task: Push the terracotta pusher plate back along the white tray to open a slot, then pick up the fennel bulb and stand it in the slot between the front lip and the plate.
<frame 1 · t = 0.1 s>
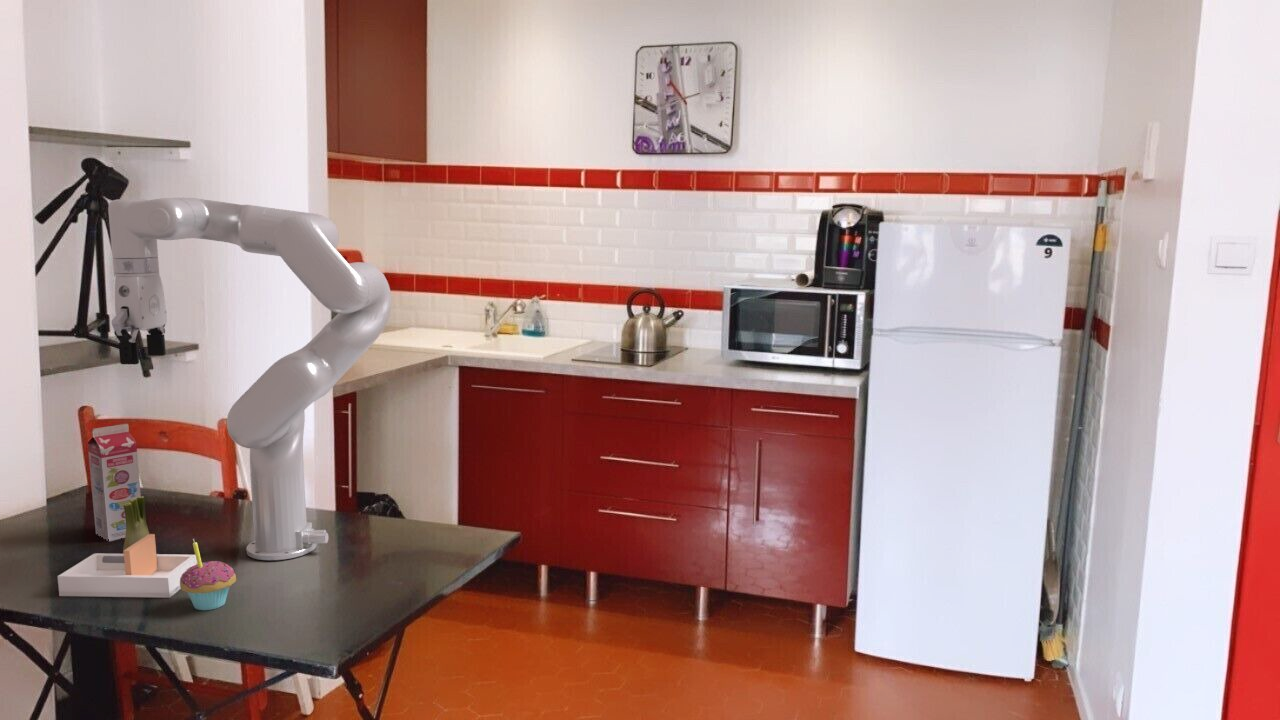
hand: (143, 359, 189), 37 cm above the table, tool pointing down, fingers open, 9 cm apart
pusher: (124, 560, 176), point 4 cm above the table, slide at 0.0 cm
juice carton: (120, 534, 203), on the table
fennel bulb: (139, 562, 188), on the table
white tray: (131, 584, 177), on the table
cupcake: (209, 605, 169), on the table
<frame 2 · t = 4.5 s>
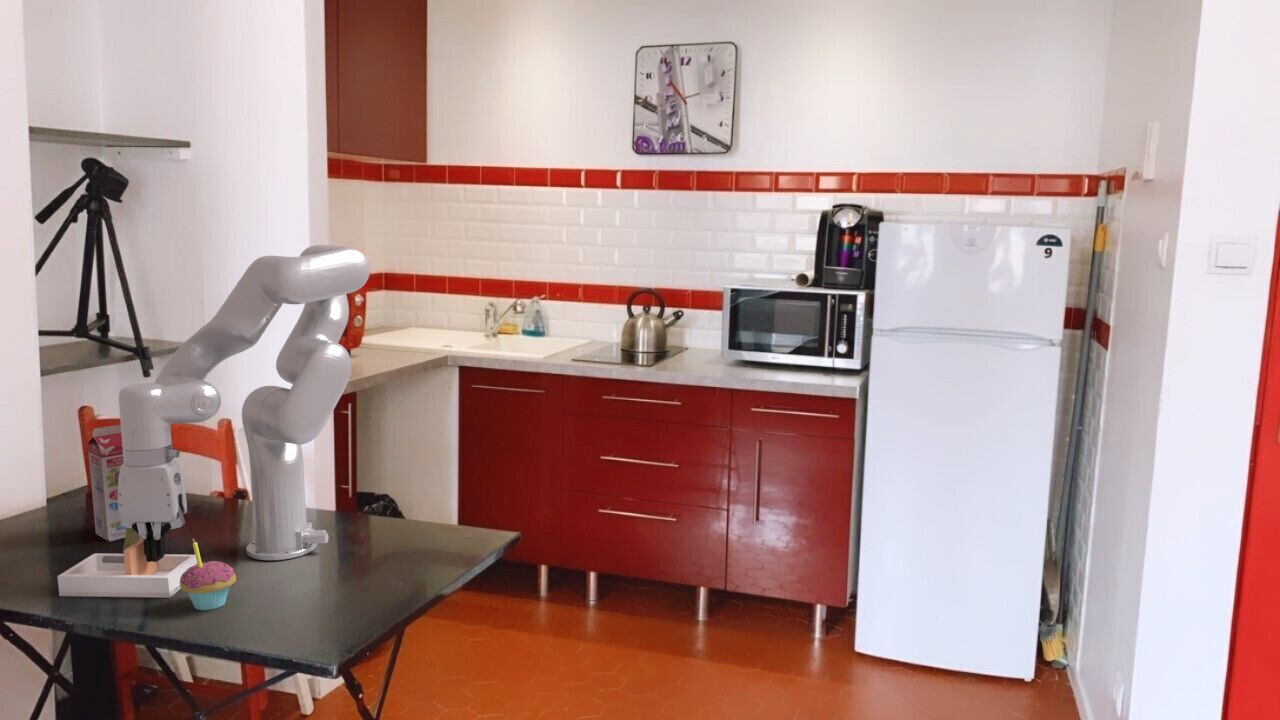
hand: (155, 559, 176), 5 cm above the table, tool pointing down, fingers closed
pusher: (124, 560, 176), point 4 cm above the table, slide at 0.0 cm, touching gripper
everything else where it was.
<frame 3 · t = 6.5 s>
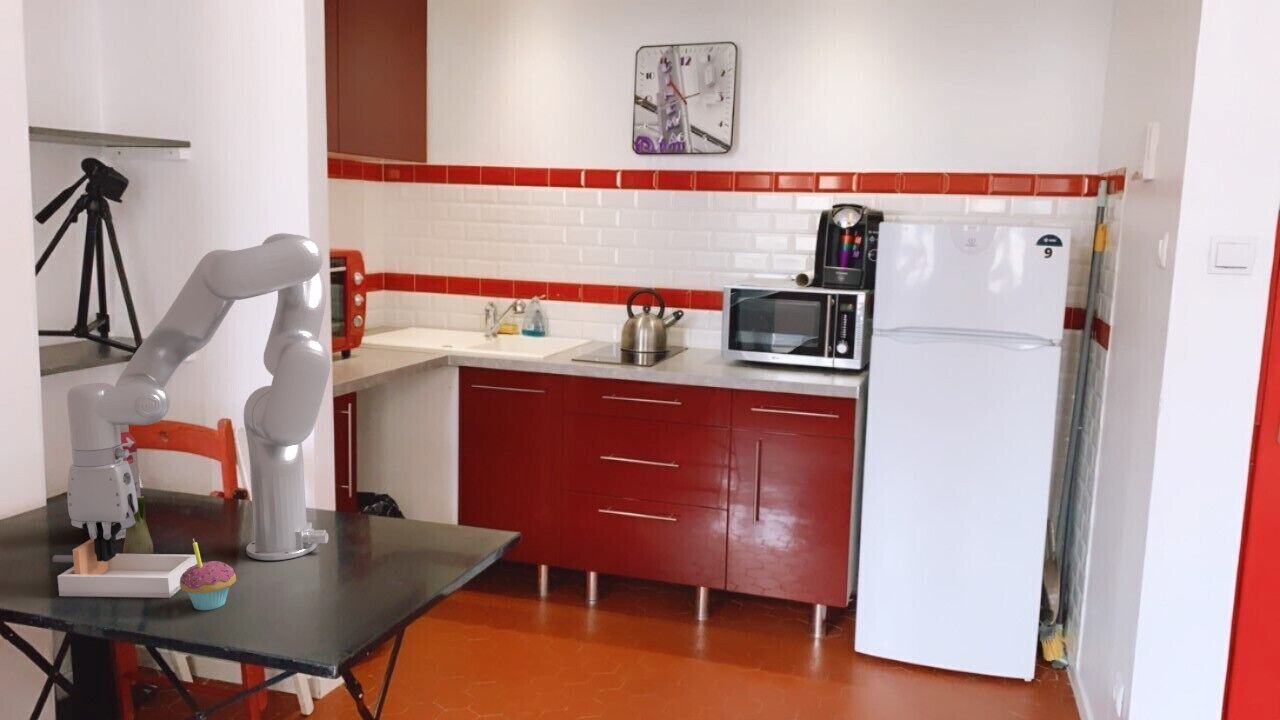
hand: (106, 558, 176), 5 cm above the table, tool pointing down, fingers closed
pusher: (74, 559, 177), point 4 cm above the table, slide at 8.8 cm
everything else where it was.
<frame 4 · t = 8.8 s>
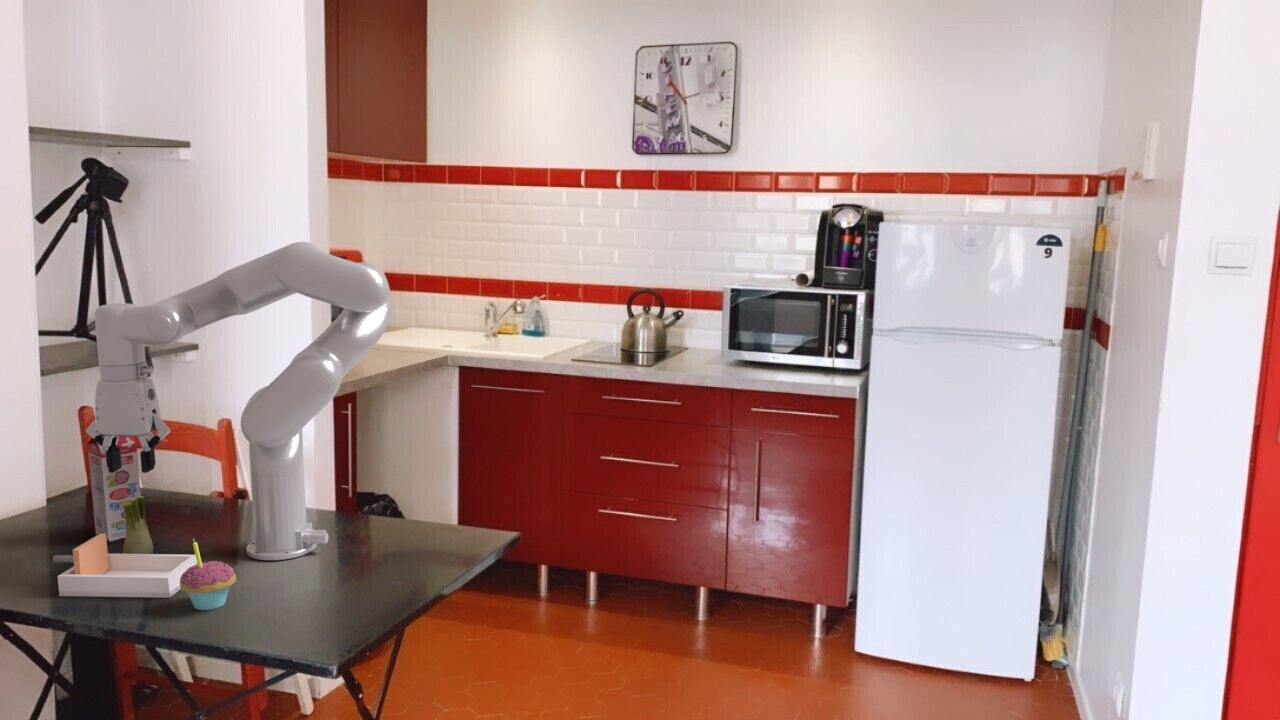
hand: (131, 469, 185), 17 cm above the table, tool pointing down, fingers open, 5 cm apart
nothing on the table moved.
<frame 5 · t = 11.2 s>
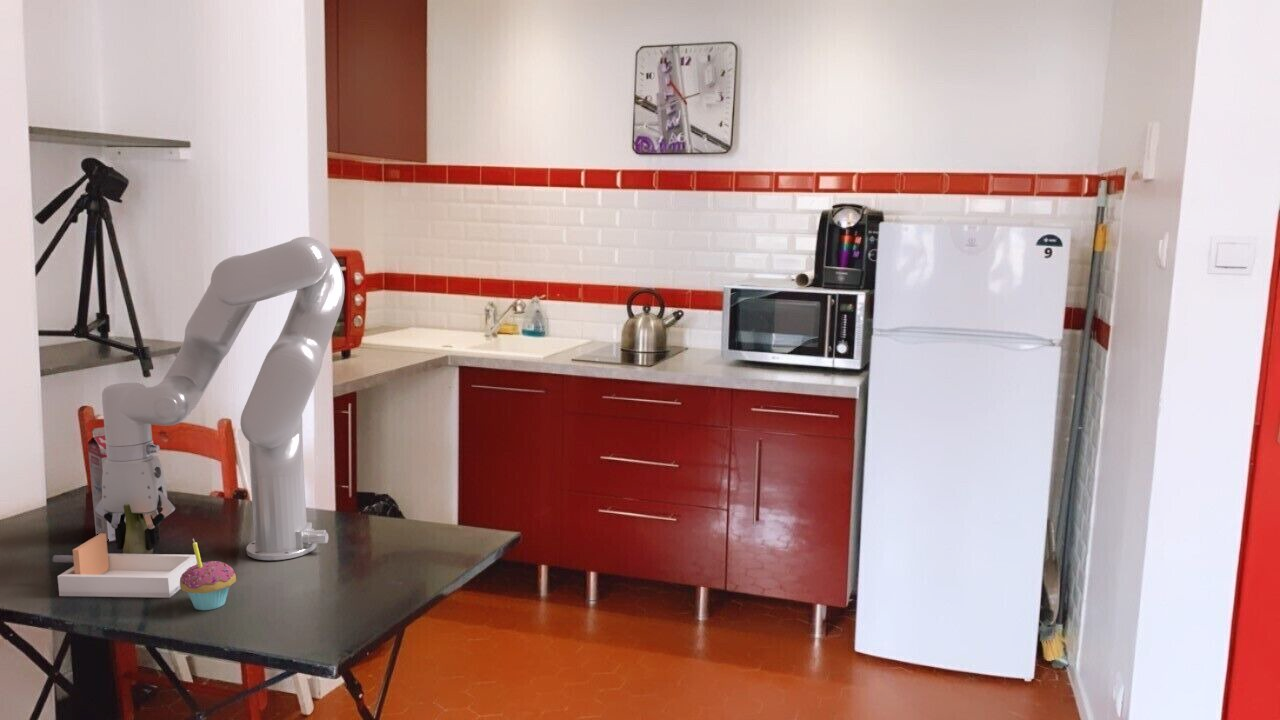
hand: (138, 546, 188), 3 cm above the table, tool pointing down, fingers closed on fennel bulb, 4 cm apart
fennel bulb: (139, 562, 188), on the table, touching gripper
everything else where it was.
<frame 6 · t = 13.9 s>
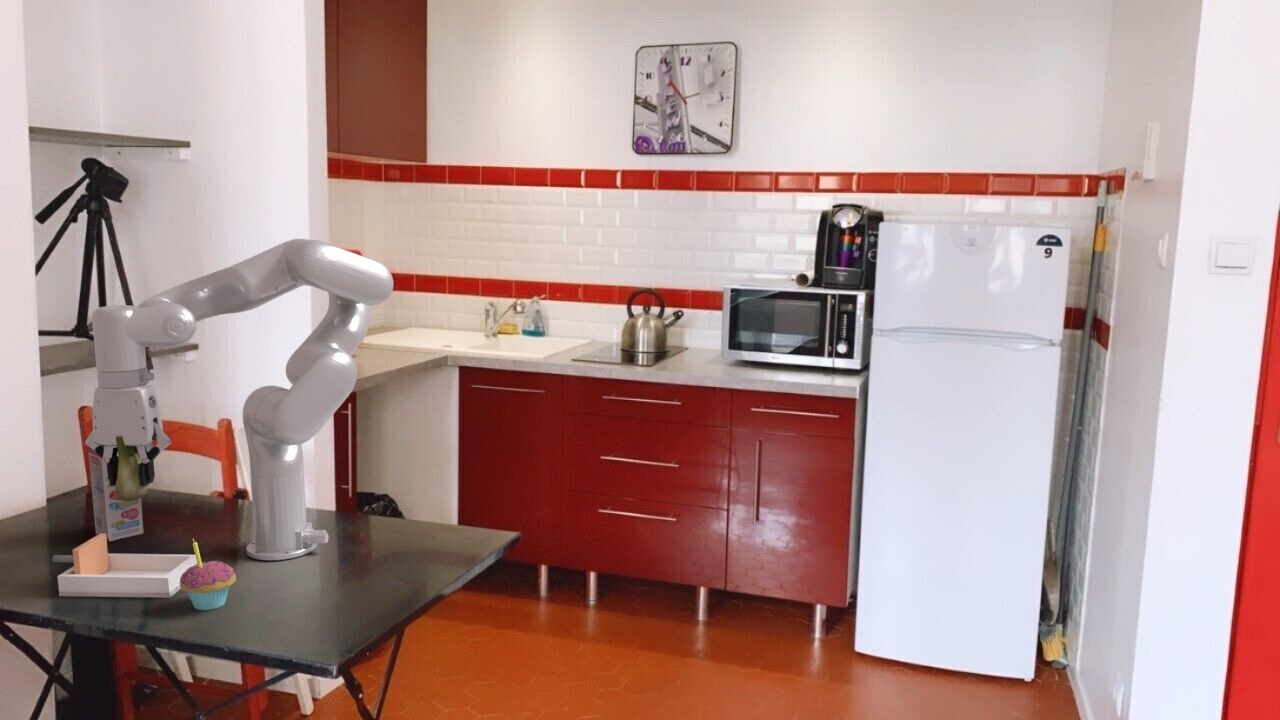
hand: (131, 482, 174), 18 cm above the table, tool pointing down, fingers closed on fennel bulb, 4 cm apart
fennel bulb: (133, 500, 175), point 15 cm above the table, touching gripper
everything else where it was.
when the fingers open (5 cm above the table, at t = 16.9 s): fennel bulb stays where it is, resting on white tray.
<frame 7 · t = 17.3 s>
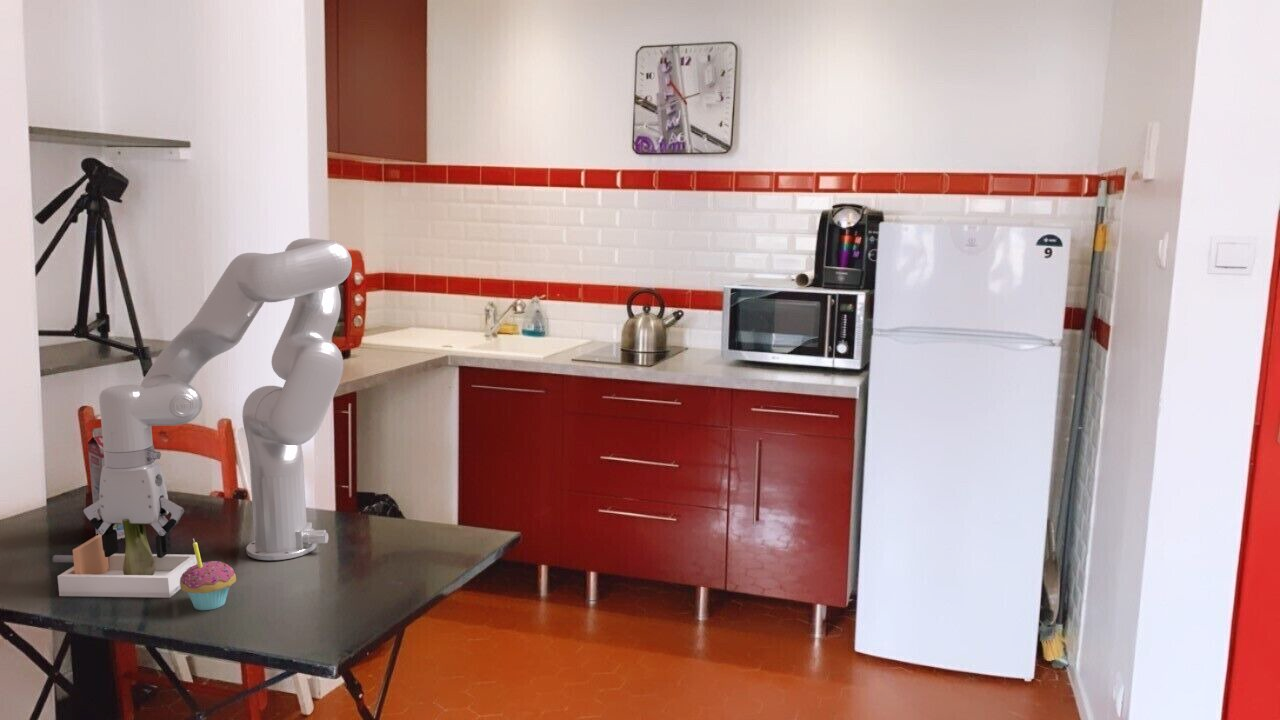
hand: (137, 554, 176), 5 cm above the table, tool pointing down, fingers open, 8 cm apart
fennel bulb: (141, 580, 177), point 1 cm above the table, touching white tray
everything else where it was.
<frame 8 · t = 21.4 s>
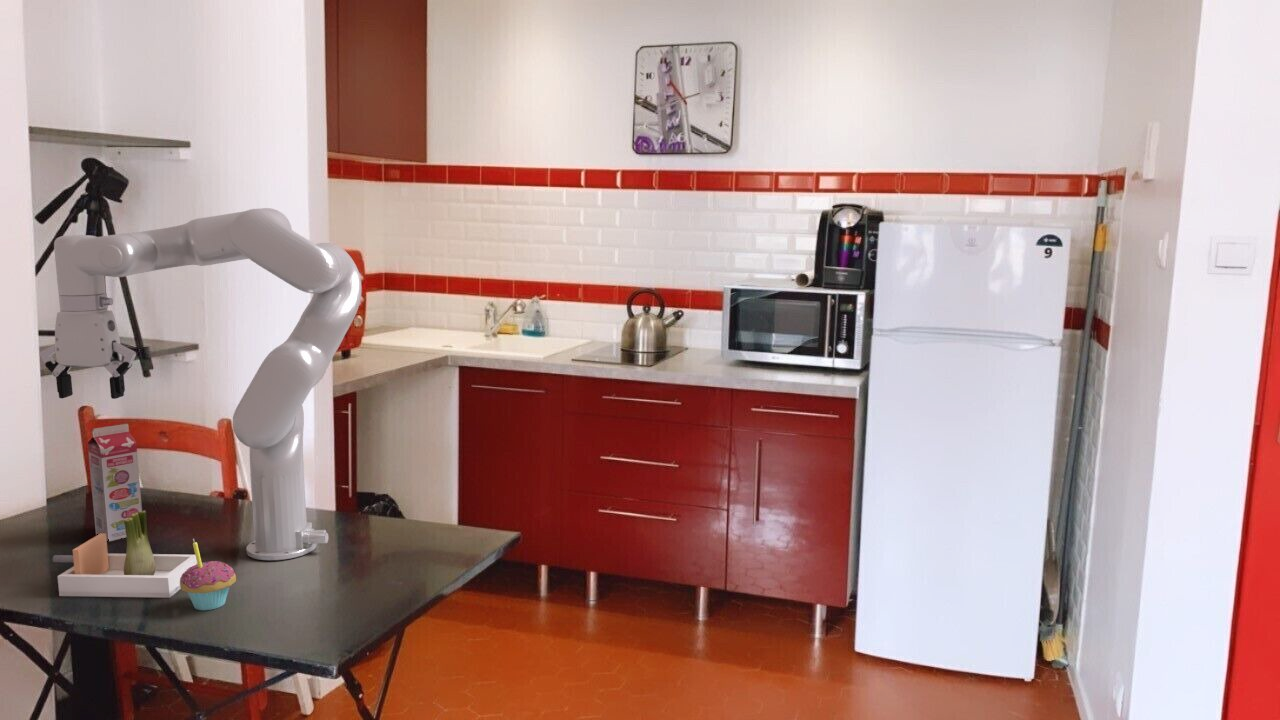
hand: (91, 397, 186), 30 cm above the table, tool pointing down, fingers open, 9 cm apart
nothing on the table moved.
at the end: fennel bulb inside the target area on the white tray (0.1 cm from its centre), point 0.6 cm above the white tray's base; fennel bulb tilted 0°; pusher slide at 8.8 cm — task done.
